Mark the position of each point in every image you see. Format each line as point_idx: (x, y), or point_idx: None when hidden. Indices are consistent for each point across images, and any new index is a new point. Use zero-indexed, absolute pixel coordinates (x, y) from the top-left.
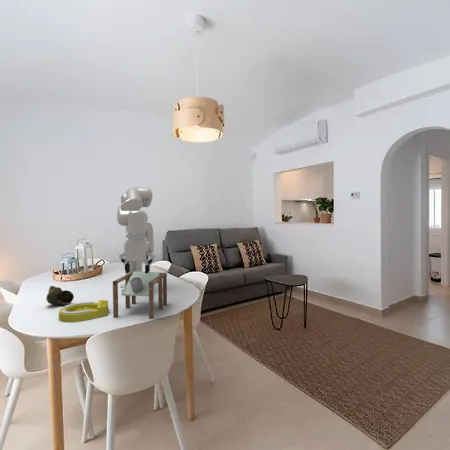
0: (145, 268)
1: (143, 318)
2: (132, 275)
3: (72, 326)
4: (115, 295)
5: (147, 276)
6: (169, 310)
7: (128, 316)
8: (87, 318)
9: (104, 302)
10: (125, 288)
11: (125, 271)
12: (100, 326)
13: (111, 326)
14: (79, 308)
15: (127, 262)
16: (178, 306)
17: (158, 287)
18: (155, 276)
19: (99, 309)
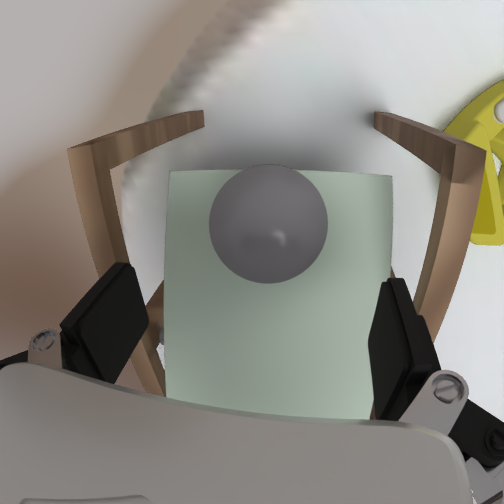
0: (92, 296)
1: (233, 111)
2: (369, 383)
3: (498, 28)
4: (415, 124)
5: (242, 369)
6: (163, 223)
7: (322, 129)
8: (488, 91)
9: (477, 207)
10: (383, 234)
11: (407, 289)
12: (392, 9)
13: (341, 7)
14: None
15: (402, 416)
16: (151, 269)
17: None
18: (181, 363)
19: (470, 124)
